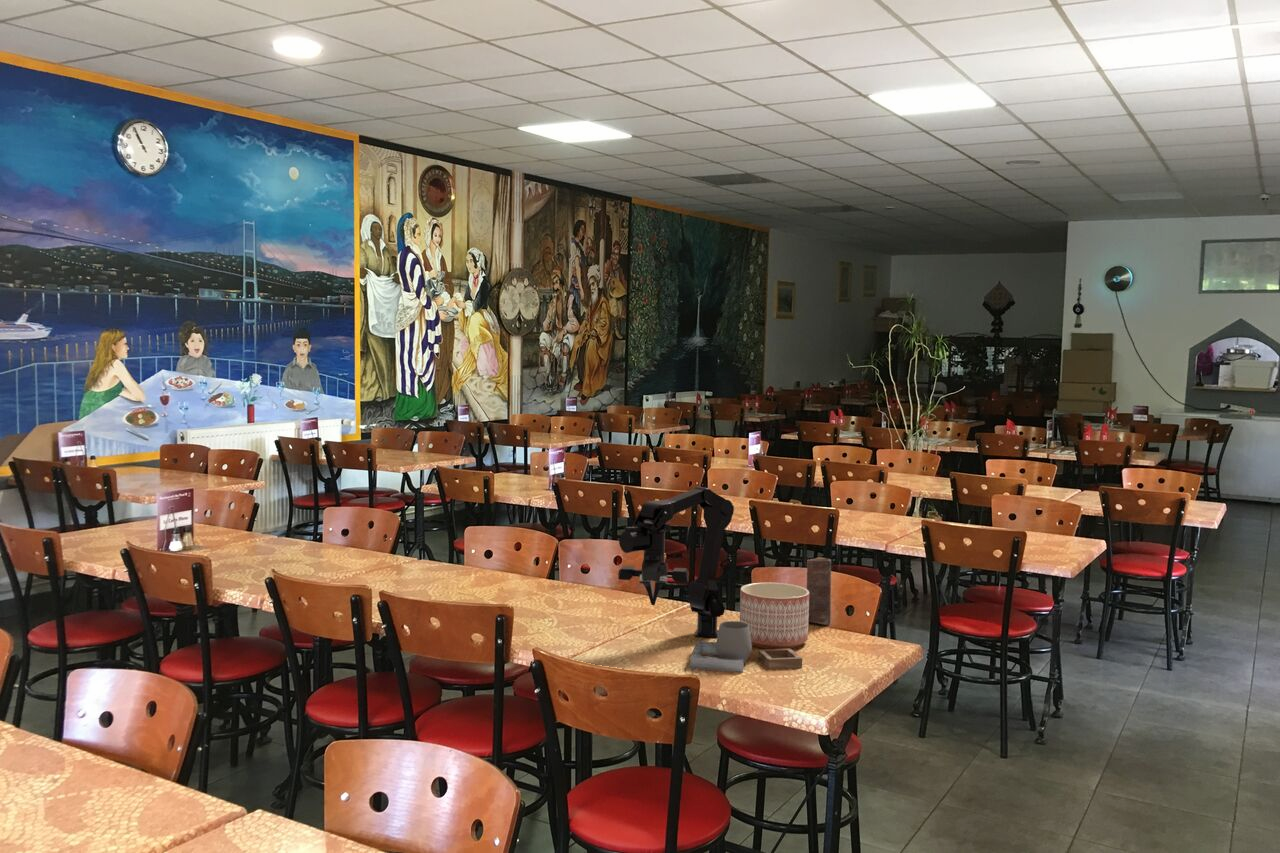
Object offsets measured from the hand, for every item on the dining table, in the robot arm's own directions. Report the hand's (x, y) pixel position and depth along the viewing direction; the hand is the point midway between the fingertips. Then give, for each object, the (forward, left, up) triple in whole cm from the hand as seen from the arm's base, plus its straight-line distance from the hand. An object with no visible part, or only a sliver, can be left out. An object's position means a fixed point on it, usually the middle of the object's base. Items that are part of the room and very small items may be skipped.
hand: (653, 605), depth 271 cm
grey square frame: (+9, +19, -12) cm, 24 cm away
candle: (-36, +46, -12) cm, 60 cm away
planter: (-13, +33, -12) cm, 37 cm away
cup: (+9, +23, -12) cm, 27 cm away
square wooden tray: (+7, +35, -12) cm, 37 cm away
